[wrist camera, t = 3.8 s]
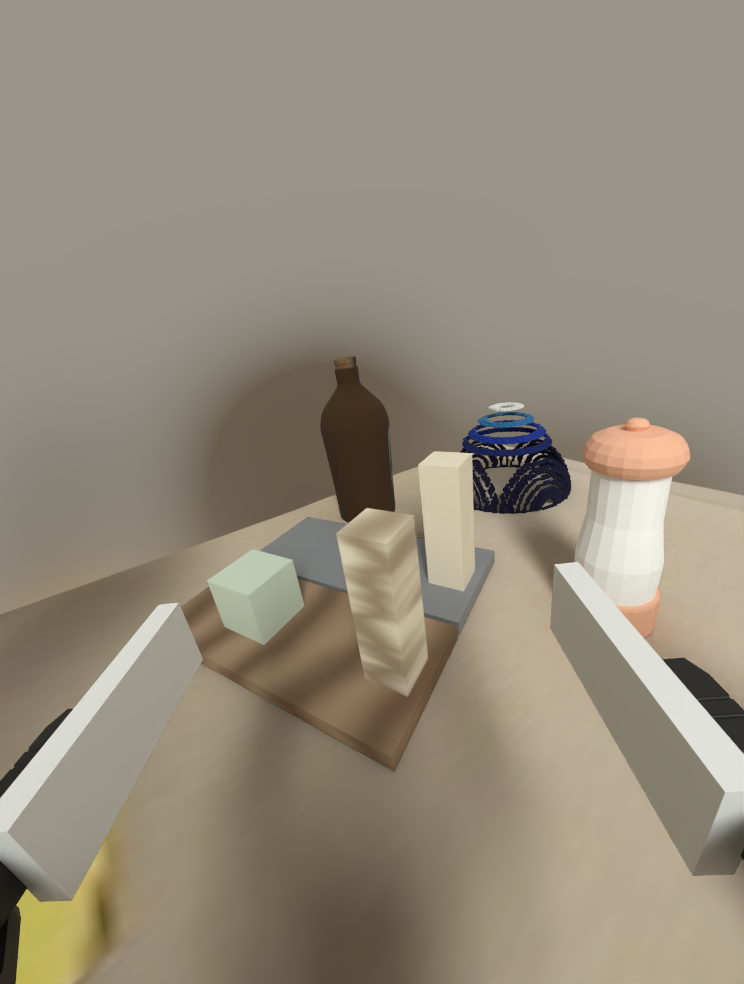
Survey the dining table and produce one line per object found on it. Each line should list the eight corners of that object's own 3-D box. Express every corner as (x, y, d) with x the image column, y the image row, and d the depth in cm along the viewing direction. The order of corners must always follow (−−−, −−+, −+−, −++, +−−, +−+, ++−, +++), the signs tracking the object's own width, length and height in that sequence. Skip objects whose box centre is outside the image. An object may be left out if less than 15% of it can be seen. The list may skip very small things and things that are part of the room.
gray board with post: (249, 569, 51) (215, 464, 45) (309, 525, 61) (288, 434, 55) (459, 634, 36) (451, 488, 30) (494, 561, 46) (494, 439, 39)
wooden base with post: (156, 637, 41) (96, 514, 35) (246, 571, 51) (212, 465, 45) (394, 771, 25) (362, 590, 19) (457, 638, 35) (449, 490, 29)
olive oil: (348, 533, 57) (318, 364, 47) (330, 508, 66) (301, 362, 56) (410, 514, 60) (393, 352, 50) (384, 493, 69) (365, 352, 60)
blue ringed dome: (495, 527, 53) (495, 430, 48) (426, 484, 71) (421, 409, 65) (598, 492, 59) (609, 401, 53) (511, 460, 77) (513, 389, 71)
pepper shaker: (663, 650, 32) (716, 431, 24) (567, 632, 35) (587, 432, 27) (645, 595, 37) (684, 406, 30) (565, 584, 41) (580, 409, 33)
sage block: (224, 627, 39) (206, 580, 37) (265, 592, 43) (252, 549, 41) (264, 645, 36) (247, 595, 33) (304, 605, 40) (292, 559, 38)
